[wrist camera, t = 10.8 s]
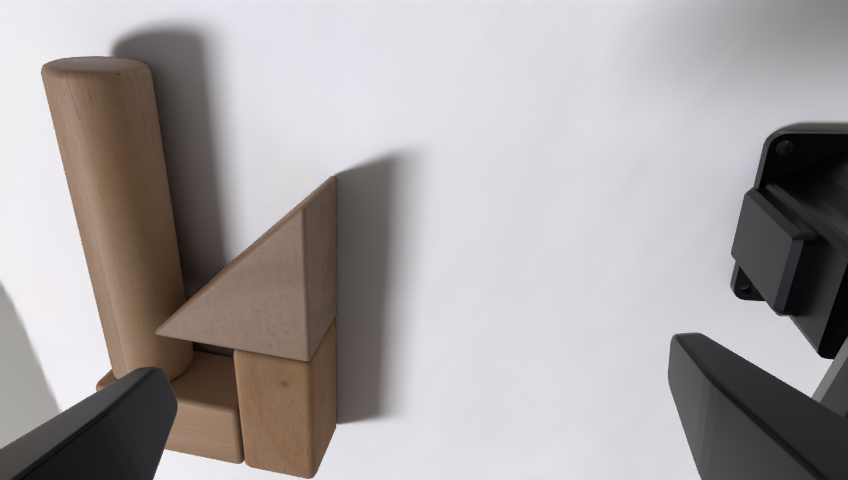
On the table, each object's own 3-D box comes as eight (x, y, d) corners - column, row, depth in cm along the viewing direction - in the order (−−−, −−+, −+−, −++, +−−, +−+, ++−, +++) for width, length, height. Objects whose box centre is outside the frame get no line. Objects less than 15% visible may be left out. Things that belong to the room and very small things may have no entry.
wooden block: (314, 484, 25) (303, 97, 17) (106, 441, 26) (5, 63, 18) (338, 426, 28) (339, 79, 20) (152, 391, 30) (84, 51, 22)
